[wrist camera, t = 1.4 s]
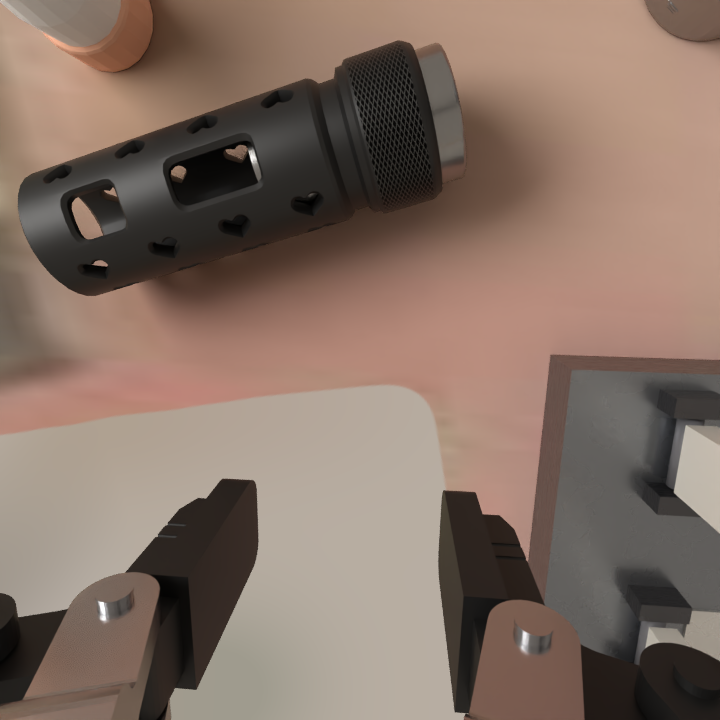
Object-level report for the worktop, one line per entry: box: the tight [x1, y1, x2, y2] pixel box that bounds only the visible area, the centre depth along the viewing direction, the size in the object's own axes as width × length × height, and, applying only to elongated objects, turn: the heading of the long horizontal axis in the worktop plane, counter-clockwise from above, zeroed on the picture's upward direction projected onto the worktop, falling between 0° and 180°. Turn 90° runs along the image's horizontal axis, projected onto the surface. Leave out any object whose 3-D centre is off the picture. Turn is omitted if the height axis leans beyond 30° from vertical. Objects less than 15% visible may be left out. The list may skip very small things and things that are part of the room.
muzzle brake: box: [18, 41, 467, 296], centre depth 33 cm, size 10×28×10 cm, turn 106°
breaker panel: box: [528, 355, 720, 664], centre depth 38 cm, size 16×27×7 cm, turn 179°
